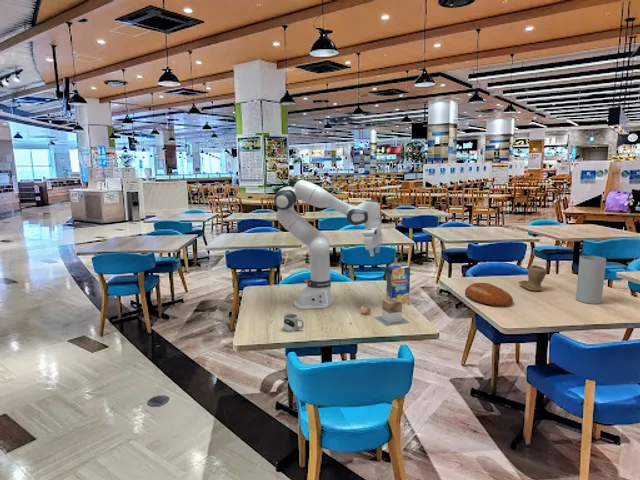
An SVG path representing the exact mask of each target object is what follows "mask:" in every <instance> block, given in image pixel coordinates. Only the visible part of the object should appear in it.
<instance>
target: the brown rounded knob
mask: <svg viewBox="0 0 640 480" xmlns="http://www.w3.org/2000/svg"><path fill="white" fill-rule="evenodd" d="M360 314H361V315H362V316H370V315H371V314H372V307H371V306H370V305H361V306H360Z"/></svg>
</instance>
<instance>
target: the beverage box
mask: <svg viewBox="0 0 640 480" xmlns="http://www.w3.org/2000/svg"><path fill="white" fill-rule="evenodd" d="M410 283H411V267H410V266H409V265H406V264H396V265H394V264H393V265H386V290H385V291H386V297H385V299H390V298H396V299H398V300H399V301H401V302H402V305H404V304H406V305H410V292H411V291H410V290H411V289H410V286H411V285H410Z"/></svg>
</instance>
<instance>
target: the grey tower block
mask: <svg viewBox="0 0 640 480" xmlns="http://www.w3.org/2000/svg"><path fill="white" fill-rule="evenodd" d="M402 313H403V312H396V313H388V312H386V311H385V310H383V309H382V308H381V314H382V315H381V316H382V319H384V320H385V321H386V322H388V323H394V322H400V321H402V318H403V317H402Z"/></svg>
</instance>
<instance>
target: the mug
mask: <svg viewBox="0 0 640 480" xmlns="http://www.w3.org/2000/svg"><path fill="white" fill-rule="evenodd" d="M299 322H301V326H299ZM283 328H284V331H285V332H288V333H292V332H296V331H298V330H302V329H304V319H302V318H300V317H299V316H298V314H296V313H287V314H284V315H283Z"/></svg>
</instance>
